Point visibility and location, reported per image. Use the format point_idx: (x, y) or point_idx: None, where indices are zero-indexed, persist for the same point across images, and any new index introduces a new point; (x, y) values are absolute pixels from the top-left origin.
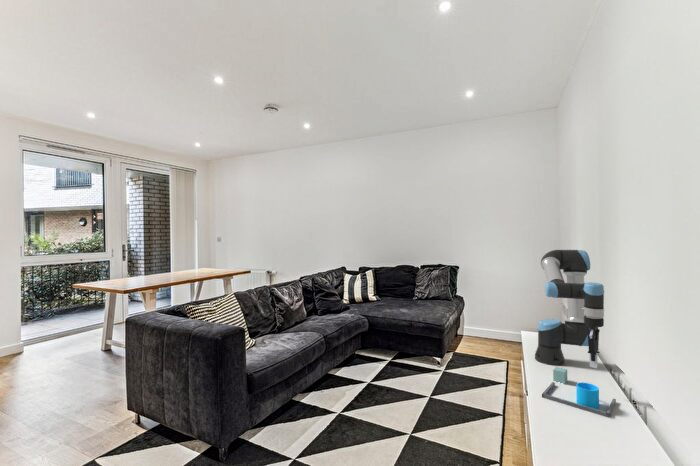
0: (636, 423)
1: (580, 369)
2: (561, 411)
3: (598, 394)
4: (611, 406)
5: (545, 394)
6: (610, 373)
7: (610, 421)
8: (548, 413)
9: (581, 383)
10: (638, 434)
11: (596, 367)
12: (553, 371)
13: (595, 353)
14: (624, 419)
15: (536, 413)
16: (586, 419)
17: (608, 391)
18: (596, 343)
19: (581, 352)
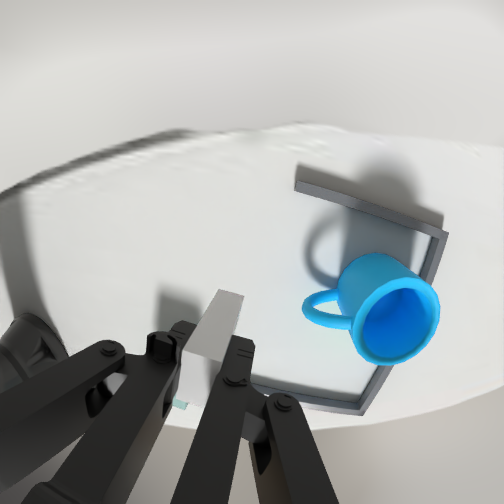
0: (442, 150)
1: (45, 275)
2: (438, 358)
3: (413, 273)
4: (387, 212)
5: (362, 408)
6: (30, 185)
7: (461, 230)
8: (451, 381)
9: (367, 347)
10: (495, 169)
11: (242, 300)
12: (187, 404)
13: (290, 401)
14: (434, 181)
15: (453, 399)
16: (467, 297)
17: (184, 196)
18: (132, 451)
19: None
